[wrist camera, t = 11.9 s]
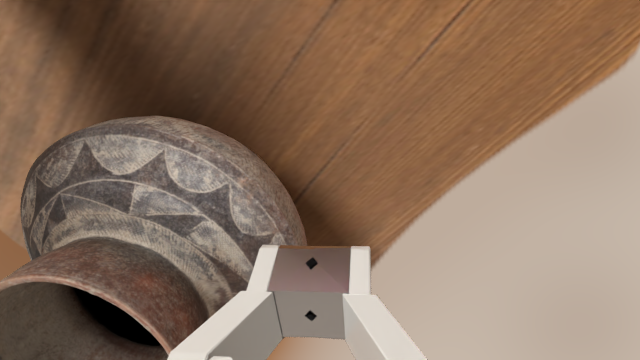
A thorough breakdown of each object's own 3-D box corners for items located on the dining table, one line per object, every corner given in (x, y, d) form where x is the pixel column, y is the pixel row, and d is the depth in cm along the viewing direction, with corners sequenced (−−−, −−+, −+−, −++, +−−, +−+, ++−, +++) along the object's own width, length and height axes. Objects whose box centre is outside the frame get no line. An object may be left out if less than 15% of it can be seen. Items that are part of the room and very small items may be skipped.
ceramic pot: (210, 26, 37) (-27, 80, 16) (375, 205, 43) (364, 419, 22) (84, 173, 47) (-163, 326, 26) (231, 301, 53) (129, 511, 32)
